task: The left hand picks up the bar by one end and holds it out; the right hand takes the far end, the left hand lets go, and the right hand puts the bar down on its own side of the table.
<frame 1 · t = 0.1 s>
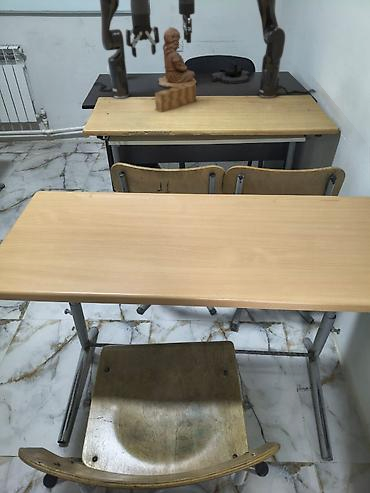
left hand: (144, 55, 157), 29 cm above the table, tool pointing down, fingers open, 8 cm apart
right hand: (187, 41, 178), 29 cm above the table, tool pointing down, fingers open, 8 cm apart
bar: (176, 105, 192), on the table
mug: (117, 79, 234), on the table
abstract sculpture: (231, 79, 227), on the table
sculpture: (177, 82, 224), on the table
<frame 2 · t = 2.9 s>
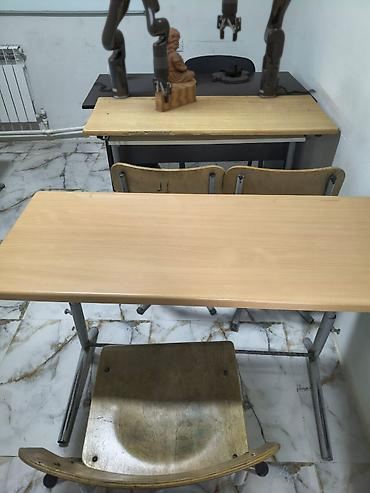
left hand: (163, 101, 186), 4 cm above the table, tool pointing down, fingers closed on bar, 5 cm apart
right hand: (228, 40, 180), 28 cm above the table, tool pointing down, fingers open, 8 cm apart
bar: (176, 105, 192), on the table, touching left hand
everything else where it was.
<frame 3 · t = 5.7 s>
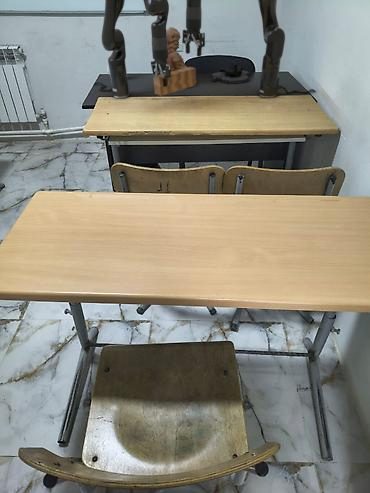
left hand: (162, 85, 180), 12 cm above the table, tool pointing down, fingers closed on bar, 5 cm apart
right hand: (193, 54, 182), 23 cm above the table, tool pointing down, fingers open, 8 cm apart
bar: (175, 89, 187), point 8 cm above the table, touching left hand
everything else where it was.
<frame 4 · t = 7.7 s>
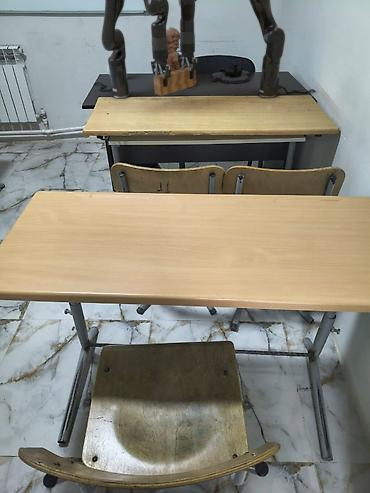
left hand: (162, 85, 180), 12 cm above the table, tool pointing down, fingers closed on bar, 5 cm apart
right hand: (188, 77, 189), 12 cm above the table, tool pointing down, fingers closed on bar, 5 cm apart
bar: (175, 89, 187), point 8 cm above the table, touching left hand, right hand
everything else where it was.
when the left hand's fingers open (12 cm above the table, at t = 8.6 s): bar stays where it is, held by the right hand.
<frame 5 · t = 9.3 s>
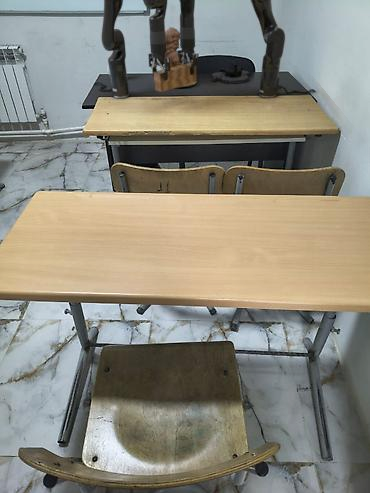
left hand: (160, 78, 178), 15 cm above the table, tool pointing down, fingers open, 8 cm apart
right hand: (188, 73, 187), 14 cm above the table, tool pointing down, fingers closed on bar, 5 cm apart
bar: (176, 85, 186), point 10 cm above the table, touching right hand
everything else where it was.
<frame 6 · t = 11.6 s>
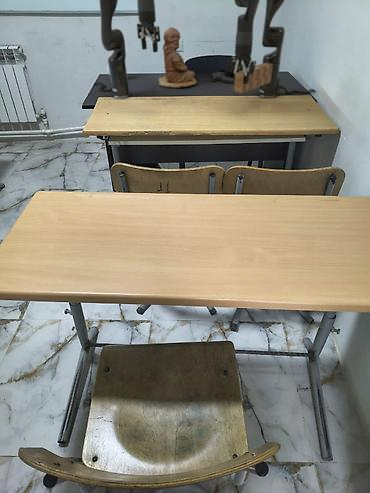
left hand: (149, 50, 167), 28 cm above the table, tool pointing down, fingers open, 8 cm apart
right hand: (241, 82, 170), 15 cm above the table, tool pointing down, fingers closed on bar, 5 cm apart
bar: (253, 86, 178), point 11 cm above the table, touching right hand
everything else where it was.
when the right hand's fingers open (5 cm above the table, at t = 13.2 s): bar stays where it is, on the table.
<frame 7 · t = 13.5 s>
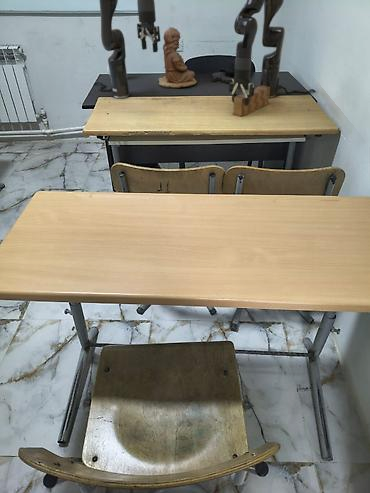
left hand: (149, 50, 167), 28 cm above the table, tool pointing down, fingers open, 8 cm apart
right hand: (240, 103, 176), 5 cm above the table, tool pointing down, fingers open, 7 cm apart
bar: (251, 108, 185), on the table
everything else where it was.
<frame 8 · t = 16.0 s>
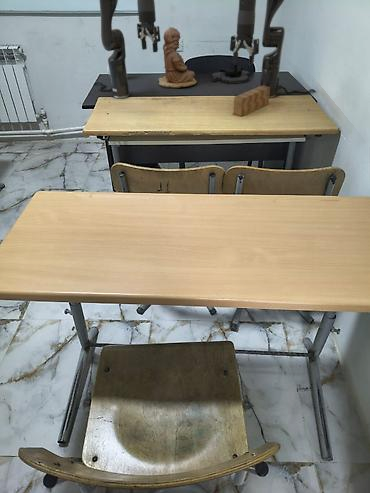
left hand: (149, 50, 167), 28 cm above the table, tool pointing down, fingers open, 8 cm apart
right hand: (243, 63, 164), 23 cm above the table, tool pointing down, fingers open, 8 cm apart
nothing on the table moved.
at the end: bar inside the target area (10.1 cm from its centre), on the table; the left hand is holding nothing; the right hand is holding nothing; bar at rest at the end (0.0 cm/s) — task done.
